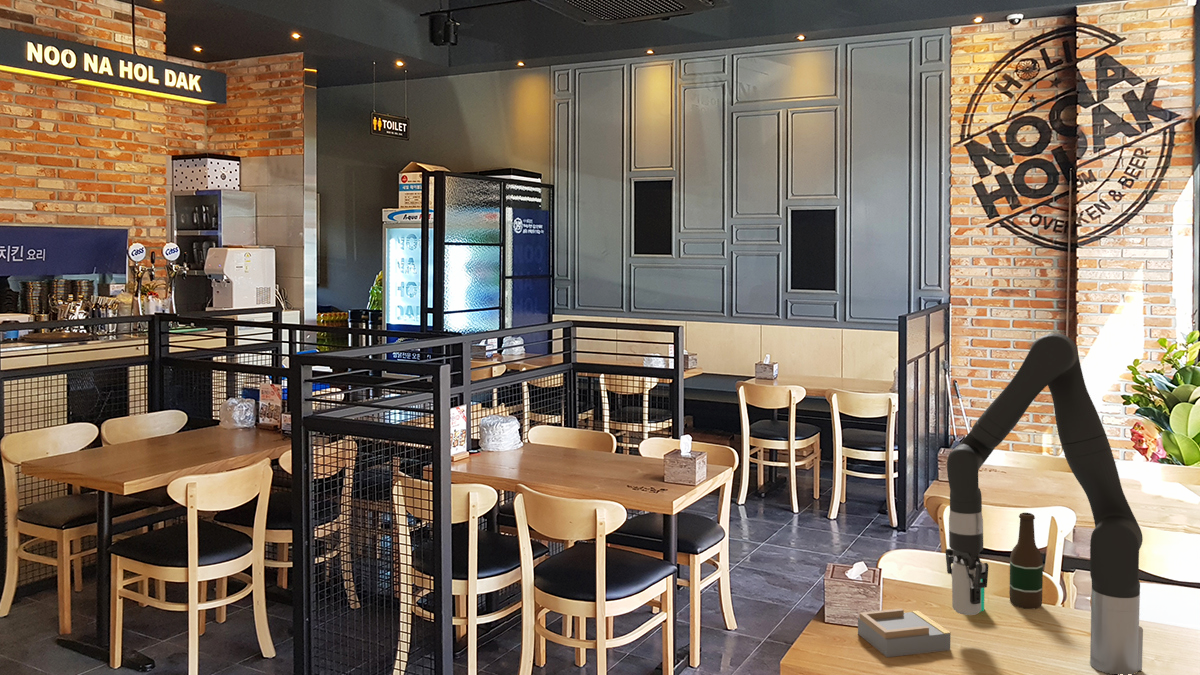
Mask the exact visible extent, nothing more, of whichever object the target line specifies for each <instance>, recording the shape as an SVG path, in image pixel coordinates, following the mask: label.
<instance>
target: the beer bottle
mask: <svg viewBox="0 0 1200 675" xmlns="http://www.w3.org/2000/svg"><path fill="white" fill-rule="evenodd" d="M1018 518H1019V528H1018V538H1017V543H1016V544H1015V546H1014V547H1013V548H1012V549H1011V550H1012V551H1011V553H1010V557H1009V601H1010V603H1011V604H1012V605H1013V606H1014V607H1017V608H1021V609H1026V610H1036V609H1039V608H1040V607H1041V606H1042V605H1043V583H1044V582H1043V581H1044V580H1043V579H1044V578H1043V573H1044V572H1043V571H1044V563H1043V556H1042V553H1041V551H1040V549H1039V548H1038V547H1037V545H1036V539H1035V536H1036V535H1035V519H1036V517H1035V515H1034V514H1033V513H1031V512H1021V513H1019V515H1018Z"/></svg>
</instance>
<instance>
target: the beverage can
mask: <svg viewBox="0 0 1200 675" xmlns="http://www.w3.org/2000/svg"><path fill="white" fill-rule="evenodd" d="M953 563H954V564H951V568H952V576H951V589H952V591H951V592H952V593H951V594H952V606H951V608H952V610H954V611H955V612H956V613H957V614H959V615H965V616H975V615H978V614H979V613H981V612H980V611H981V600H980V603H979V604H972V603H970V588H971V587H970V584H969V579H968V578H967V572H966V569H965V566H963V565H961V562H960V561H958V562H955V561H953ZM967 567H969V566H967ZM968 569H969V568H968ZM975 572H976V570H975V569H974V570H970V569H969V573H970V574H971V575H972V574H975ZM973 581H974V583H975V578H973ZM980 591H981V590H980ZM980 598H981V597H980Z"/></svg>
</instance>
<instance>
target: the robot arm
mask: <svg viewBox="0 0 1200 675" xmlns="http://www.w3.org/2000/svg"><path fill="white" fill-rule="evenodd" d="M1079 356H1080V355H1079V352H1078V348H1077V346H1076V343H1075V341H1074V340H1072V338H1070V337H1069V336H1067V335H1066V334H1063V333H1059V332H1050V333H1047V334H1044V335H1042V336H1040V337H1038V338H1037V339H1035V341H1034V342H1033V343H1032V344H1031V347H1030V349H1029V351H1028V353H1027V354H1026V357H1025V359H1024V360H1023V362H1022V363H1021V366H1020V368H1019V369H1018V371H1017V372H1016V374H1014V376H1013V378H1012V379H1011V380H1010V382H1009V383H1008V384H1007V385H1006V387H1005V388H1004V389H1003V390H1002V391H1001V392H1000V394H999V395H998V396H997V397H996V398H995V399H994V400H993V401H992V402H991V403H990V405H989V406H988V407H987V408H986V409H985V411H984V412H983V413H982V414H981V415H980V417H979V418H978V419H977V420H976V421H975V423H974V425H973V426H972V428H971V430H970V431H969V432H968V433H967V435H966V436H965V437H964V438H963V439H962V441H960V442H959V443H958V445H956V446H955V448H954V449H952V450H951V451H950V453H949V454H948V456H947V459H946V460H947V461H946V471H947V480H948V486H949V516H948V543H949V544H948V545H949V548H946V549H945V560H946V561H945V562H946V573H947V574H948V575H951V577H952V565H953V564H954V563H953V561H955V562H958V561H960V562H961V565H963V566H965V569H966V572H967V578H968V579H969V584H970V587H971V588H970V603H972V604H979V603H980V600H981V598H980V597H981V591H980V590H981V588H984V589H986V588H987V587H988V581H989V580H988V577H989V576H988V575H989V564H988V562H984V563H983V562H982V561H981V559H980V553H981V552H982V551H983V550H984V518H983V510H982V509H983V502H982V497H983V496H982V491H981V489H980V488H979V470H980V469H981V467H982V466H983V465H984V463H985V462H986V461H987V460H988V458H989V457H990V455H991V454H992V452H994V450H995V448H997V447H998V446H999V445H1000V444H1002V442H1003V441H1004V440H1005V439H1006V438H1007V436H1008V435H1009V433H1010V432H1012V430H1013V429H1014V428H1015V427H1016V425H1017V424H1018V422H1019V421H1020V420H1021V418H1022V417H1023V415H1025V412H1027V410H1028V408H1029V406H1031V404H1032V403H1033V401H1034V400H1035V399H1036V398H1037V397H1038V395H1039V394H1041V392H1042V391H1044V389H1045V388H1046V387H1048V390H1049V391H1050V395H1051V399H1052V402H1053V410H1054V416H1055V417H1054V418H1055V423H1056V428H1057V430H1056V431H1057V435H1058V439H1059V443H1060V445H1061V448H1062V451H1063V453H1064V456H1065V459H1066V462H1067V465H1068V467H1069V468H1070V470H1071V472H1072V474H1073V475H1074V477H1075V479H1076V481H1077V482H1078V483H1079V485H1080V486H1081V488H1082V490H1083V491H1084V493H1085V495H1086V498H1087V500H1088V503H1089V506H1090V509H1091V514H1092V518H1093V522H1094V529H1093V530H1092V533H1091V534H1090V543H1089V544H1090V545H1089V546H1090V548H1089V573H1090V574H1089V575H1090V579H1091V601H1090V602H1091V605H1090V606H1091V608H1090V646H1089V648H1090V655H1089V656H1090V657H1089V664H1090V666H1091V667H1092V668H1094V669H1095V670H1096V671H1097V670H1098V671H1099V672H1101V671H1102V672H1101V673H1104V672H1105V674H1108V673H1111V674H1110V675H1112V674H1119V675H1120V674H1123V675H1128V674H1134V673H1136V672H1137V673H1138V672H1140V671H1139V670H1141V671H1143V647H1144V646H1143V644H1144V643H1143V642H1144V641H1143V640H1144V629H1143V627H1142V626H1140V609H1141V608H1140V606H1141V605H1140V603H1141V602H1140V600H1141V599H1140V598H1141V583H1140V579H1139V578H1140V576H1139V572H1140V571H1139V570H1140V569H1139V568H1140V566H1139V565H1140V549H1141V548H1142V545H1143V539H1144V537H1143V532H1142V530H1141V529H1142V528H1141V527H1140V526H1139V523H1138V521H1137V519H1136V517H1135V514H1134V513H1133V510H1132V509H1131V507H1130V504H1129V502H1128V500H1127V498H1126V496H1125V492H1124V490H1123V488H1122V483H1121V479H1120V475H1119V471H1118V468H1117V464H1116V461H1115V459H1114V454H1113V451H1112V448H1111V444H1110V442H1109V438H1108V435H1107V433H1106V430H1105V427H1104V426H1103V423H1102V421H1101V418H1100V416H1099V414H1098V411H1097V409H1096V406H1095V404H1094V402H1093V400H1092V398H1091V395H1090V394H1089V390H1088V389H1087V386H1086V383H1085V378H1084V375H1083V370H1082V366H1081V362H1080V357H1079ZM967 566H969V567H967ZM968 568H969V569H970V570H974V569H975V570H976V572H975V574H972V575H971V574H970V573H969V569H968ZM973 578H975V583H974V581H973ZM981 579H982V582H981ZM1137 673H1136V674H1137ZM1134 675H1135V674H1134Z"/></svg>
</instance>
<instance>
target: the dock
mask: <svg viewBox="0 0 1200 675" xmlns="http://www.w3.org/2000/svg"><path fill="white" fill-rule="evenodd" d="M857 634H858V635H859V636H860V637H861V638H863V640H865V641H866V642H868V644H870V645H871V646H872V647H873V648H875V649H876V650H878V651H879V652H880V653H881V654H882V655H883V656H885V657H886V658H891V657H901V656H909V655H918V654H927V653H928V654H929V653H935V652H944V651H951V631H949V630H948V629H946V628H945V627H943V626H941V625H940V624H939V623H938V622H936V621H934V620H932V619H931V618H930V617H928V616H927V615H926V614H924V613H922V612H921V611H920V610H912V611H908V612H905V611H904V609H903V608H894V609H884V610H875V611H864V612H859V617H857Z"/></svg>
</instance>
